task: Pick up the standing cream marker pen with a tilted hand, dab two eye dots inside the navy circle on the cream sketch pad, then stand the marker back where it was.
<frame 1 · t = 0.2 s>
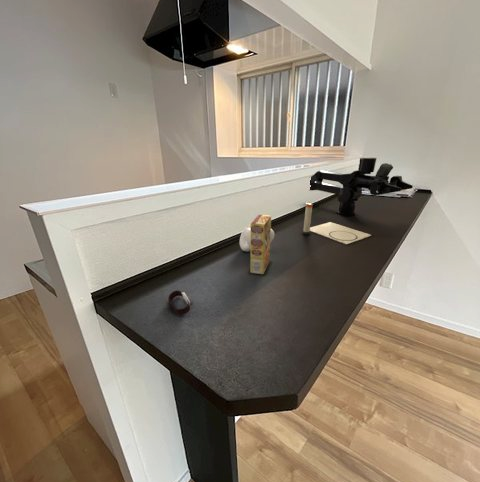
hand: (406, 188, 106), 17 cm above the breakfast bar, tool horizontal, fingers open, 9 cm apart
sketch pad: (337, 232, 107), on the breakfast bar
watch: (180, 307, 62), on the breakfast bar
candy box: (259, 267, 80), on the breakfast bar
marker: (306, 234, 106), on the breakfast bar
white rounded lump: (253, 251, 91), on the breakfast bar
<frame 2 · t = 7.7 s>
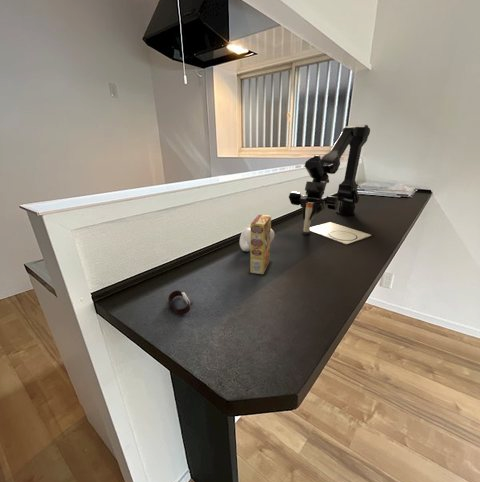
hand: (306, 219, 102), 7 cm above the breakfast bar, tool tilted 45°, fingers closed on marker, 2 cm apart
marker: (306, 234, 106), on the breakfast bar, touching gripper
everything else where it was.
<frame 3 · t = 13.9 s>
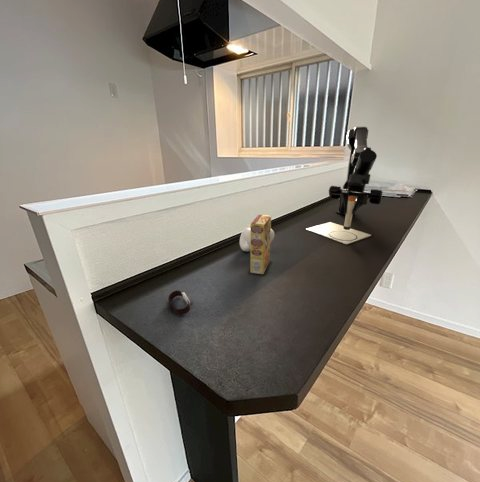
hand: (348, 213, 99), 9 cm above the breakfast bar, tool tilted 45°, fingers closed on marker, 2 cm apart
marker: (346, 228, 103), point 3 cm above the breakfast bar, touching gripper
everything else where it was.
when the fingers open (7 cm above the breakfast bar, at t = 20.6 s): marker stays where it is, on the breakfast bar.
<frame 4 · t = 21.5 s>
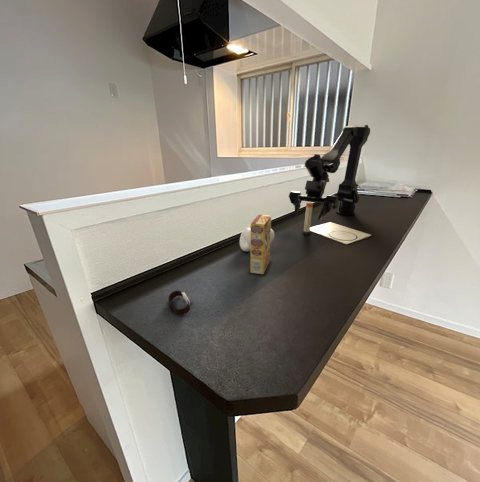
hand: (306, 218, 102), 7 cm above the breakfast bar, tool tilted 45°, fingers open, 9 cm apart
marker: (306, 233, 106), on the breakfast bar
everything else where it was.
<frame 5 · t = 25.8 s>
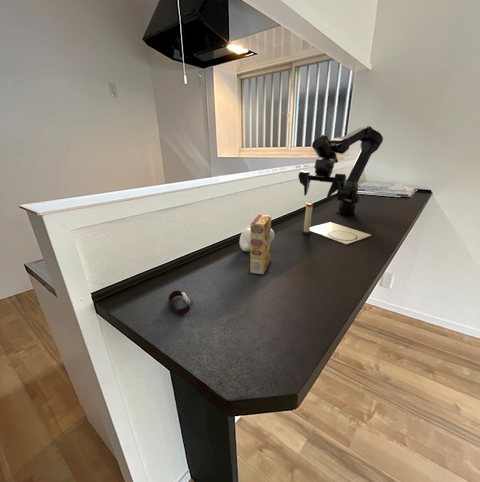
hand: (315, 196, 106), 14 cm above the breakfast bar, tool tilted 45°, fingers open, 9 cm apart
nothing on the breakfast bar moved.
at the end: marker tilted 0°; marker inside the target area (0.3 cm from its centre), on the breakfast bar; the gripper is holding nothing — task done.
